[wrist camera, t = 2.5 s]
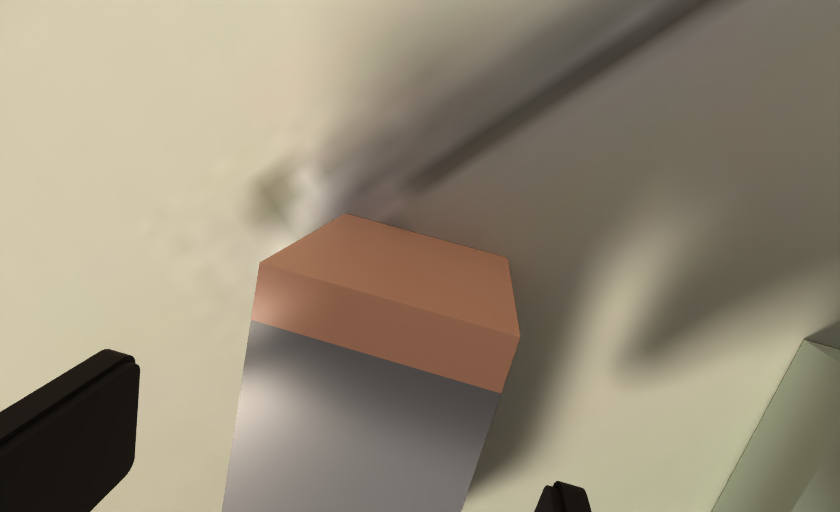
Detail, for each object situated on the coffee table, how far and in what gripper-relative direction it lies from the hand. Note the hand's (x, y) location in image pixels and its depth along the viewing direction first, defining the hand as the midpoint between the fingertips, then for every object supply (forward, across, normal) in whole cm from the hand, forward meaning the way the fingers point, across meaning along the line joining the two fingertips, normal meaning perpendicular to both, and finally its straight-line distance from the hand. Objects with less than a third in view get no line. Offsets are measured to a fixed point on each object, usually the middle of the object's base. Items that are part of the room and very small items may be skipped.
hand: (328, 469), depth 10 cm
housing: (+5, 0, +1) cm, 5 cm away
